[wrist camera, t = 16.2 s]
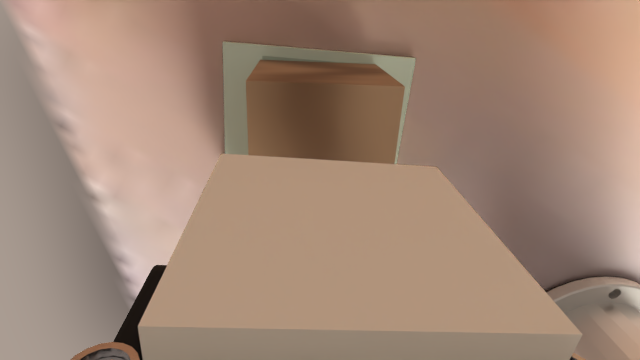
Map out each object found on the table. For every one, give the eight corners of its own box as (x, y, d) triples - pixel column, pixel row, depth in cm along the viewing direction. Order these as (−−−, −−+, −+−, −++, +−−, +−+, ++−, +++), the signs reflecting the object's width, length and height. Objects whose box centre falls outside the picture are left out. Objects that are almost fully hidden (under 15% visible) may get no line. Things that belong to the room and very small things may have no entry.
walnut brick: (375, 64, 20) (405, 86, 14) (360, 213, 24) (379, 275, 18) (260, 59, 19) (245, 80, 14) (263, 212, 23) (252, 275, 18)
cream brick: (399, 324, 13) (471, 547, 8) (224, 320, 13) (172, 558, 7) (436, 166, 11) (582, 334, 5) (221, 153, 10) (138, 326, 5)
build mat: (384, 218, 24) (386, 222, 24) (227, 211, 24) (226, 214, 23) (414, 57, 20) (416, 58, 20) (224, 41, 19) (222, 42, 19)
